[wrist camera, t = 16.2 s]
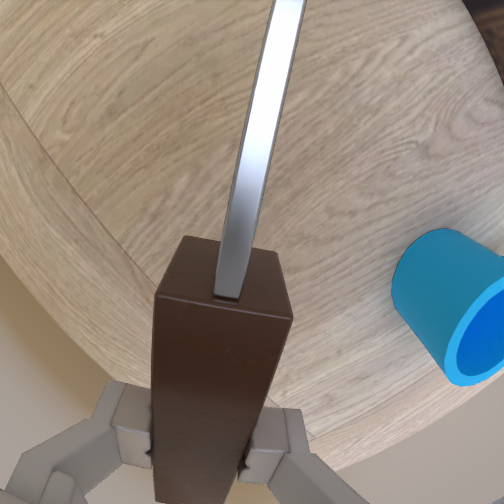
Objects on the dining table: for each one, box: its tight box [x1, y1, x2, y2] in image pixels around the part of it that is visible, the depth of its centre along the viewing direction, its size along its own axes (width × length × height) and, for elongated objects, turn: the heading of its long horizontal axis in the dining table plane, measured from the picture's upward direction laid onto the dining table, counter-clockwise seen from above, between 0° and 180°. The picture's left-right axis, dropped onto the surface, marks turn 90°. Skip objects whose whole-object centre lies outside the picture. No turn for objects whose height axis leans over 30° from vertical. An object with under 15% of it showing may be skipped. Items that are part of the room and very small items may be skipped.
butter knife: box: [151, 0, 307, 504], centre depth 6 cm, size 2×20×3 cm, turn 168°
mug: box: [392, 228, 504, 386], centre depth 18 cm, size 12×8×8 cm
